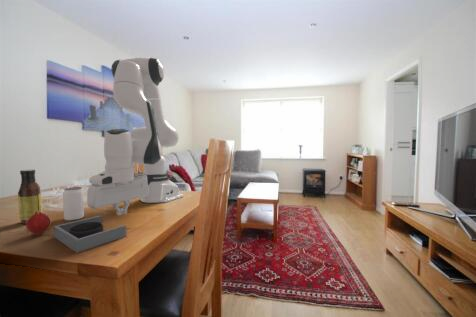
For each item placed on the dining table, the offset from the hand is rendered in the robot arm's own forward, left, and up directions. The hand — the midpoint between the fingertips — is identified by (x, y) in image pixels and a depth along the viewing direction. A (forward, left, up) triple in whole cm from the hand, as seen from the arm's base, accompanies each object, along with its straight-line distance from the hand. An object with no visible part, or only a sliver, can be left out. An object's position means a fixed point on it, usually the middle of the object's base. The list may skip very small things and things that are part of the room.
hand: (121, 214), depth 78 cm
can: (+6, -25, -5) cm, 26 cm away
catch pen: (+10, 0, -5) cm, 11 cm away
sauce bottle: (+17, -33, -5) cm, 37 cm away
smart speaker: (+11, 0, -5) cm, 12 cm away
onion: (+19, -15, -5) cm, 25 cm away
